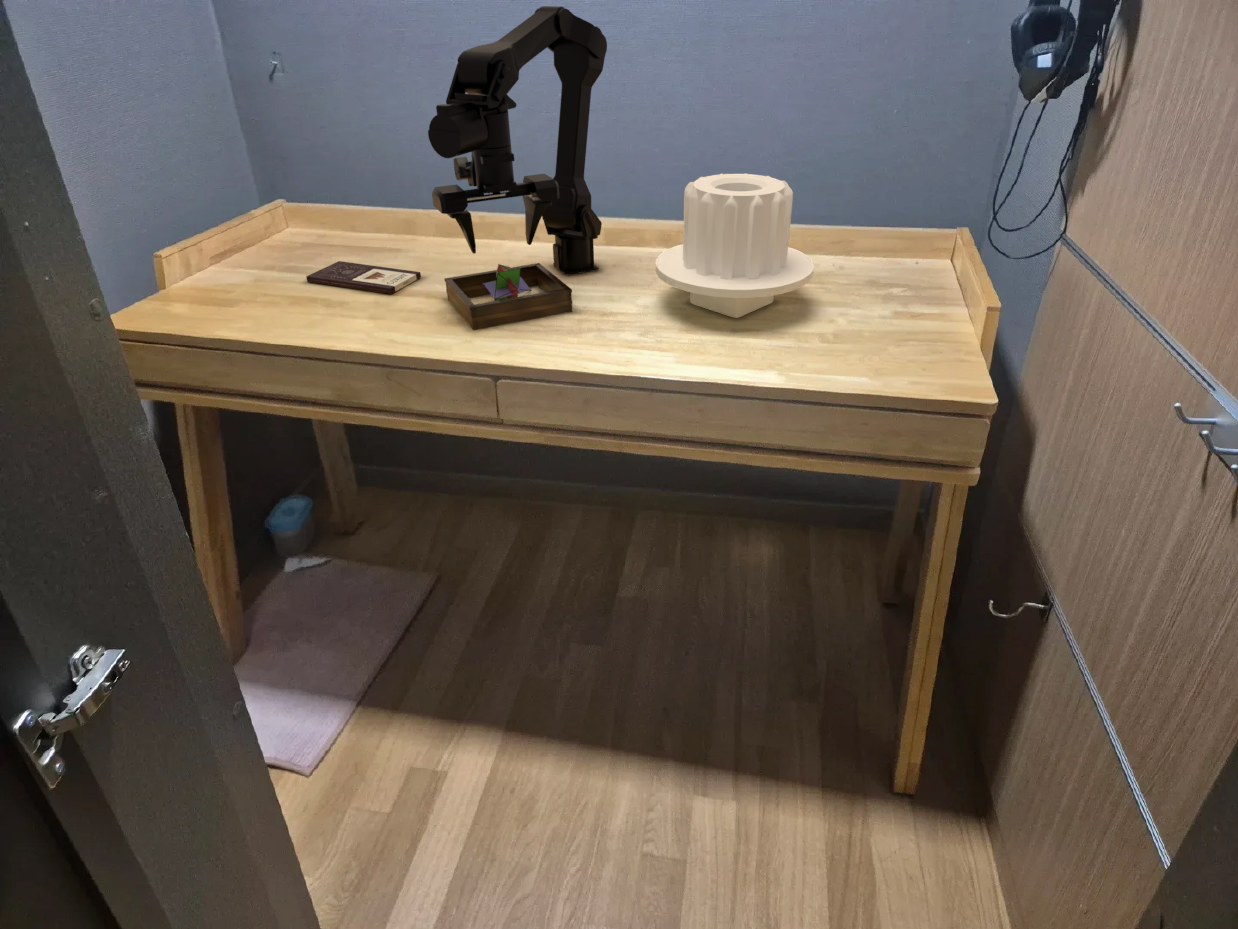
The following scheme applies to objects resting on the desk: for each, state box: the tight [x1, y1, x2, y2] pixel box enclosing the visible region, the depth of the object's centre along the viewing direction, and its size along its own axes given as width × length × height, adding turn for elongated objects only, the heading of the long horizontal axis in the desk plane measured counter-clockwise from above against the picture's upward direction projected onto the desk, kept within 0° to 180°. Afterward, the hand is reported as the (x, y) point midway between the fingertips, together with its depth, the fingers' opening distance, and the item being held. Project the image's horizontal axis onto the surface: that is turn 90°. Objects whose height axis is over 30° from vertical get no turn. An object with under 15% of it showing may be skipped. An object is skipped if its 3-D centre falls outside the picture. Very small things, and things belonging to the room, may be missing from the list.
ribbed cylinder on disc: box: [655, 172, 815, 319], centre depth 128 cm, size 25×25×19 cm
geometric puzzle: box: [482, 263, 532, 302], centre depth 132 cm, size 7×7×8 cm
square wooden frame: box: [444, 262, 573, 331], centre depth 133 cm, size 17×15×4 cm
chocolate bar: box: [305, 260, 422, 295], centre depth 145 cm, size 9×1×18 cm
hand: (501, 248), depth 129 cm, fingers open, 9 cm apart
